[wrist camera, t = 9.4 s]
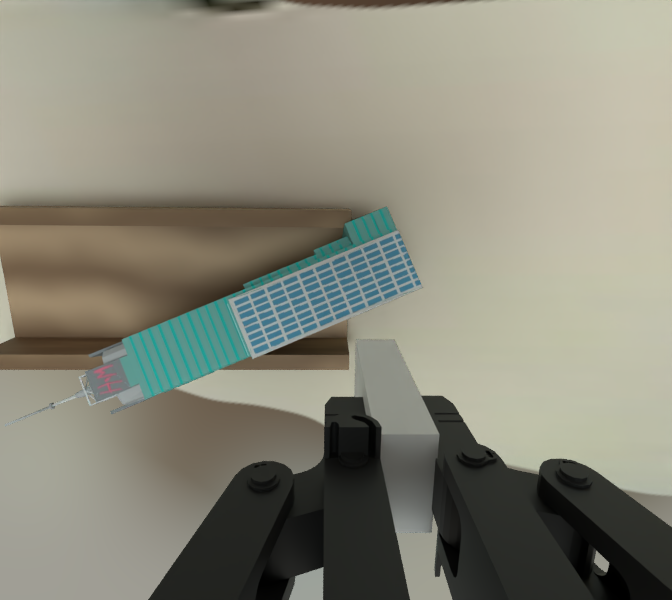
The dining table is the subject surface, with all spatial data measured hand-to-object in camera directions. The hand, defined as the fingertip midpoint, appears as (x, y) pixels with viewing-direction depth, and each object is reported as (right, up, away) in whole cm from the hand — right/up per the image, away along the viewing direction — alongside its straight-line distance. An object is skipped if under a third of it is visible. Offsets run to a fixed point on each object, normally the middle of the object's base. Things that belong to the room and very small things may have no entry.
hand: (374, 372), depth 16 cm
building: (+3, +6, +15) cm, 16 cm away
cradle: (-15, +5, +19) cm, 25 cm away
